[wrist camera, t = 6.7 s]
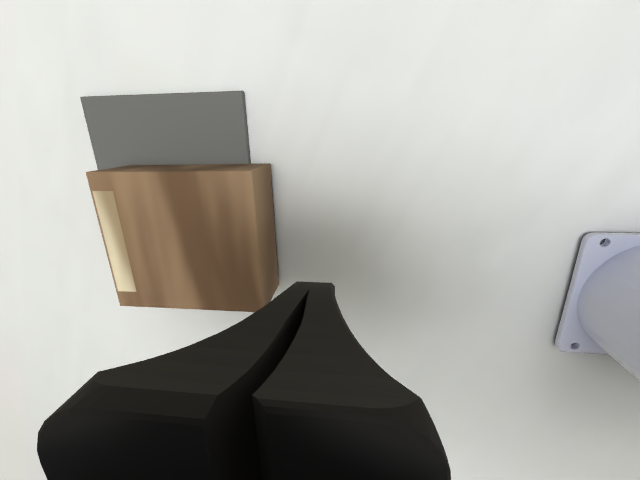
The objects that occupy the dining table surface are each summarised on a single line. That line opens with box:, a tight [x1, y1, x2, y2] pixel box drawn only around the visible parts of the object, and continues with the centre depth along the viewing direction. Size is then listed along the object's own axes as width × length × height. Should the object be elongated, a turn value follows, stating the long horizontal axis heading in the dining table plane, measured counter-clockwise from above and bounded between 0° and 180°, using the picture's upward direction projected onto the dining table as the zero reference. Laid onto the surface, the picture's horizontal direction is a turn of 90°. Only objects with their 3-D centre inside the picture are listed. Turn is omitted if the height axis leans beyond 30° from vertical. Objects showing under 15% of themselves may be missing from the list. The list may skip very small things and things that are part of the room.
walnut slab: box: [86, 164, 279, 312], centre depth 19 cm, size 4×8×9 cm
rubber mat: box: [80, 91, 251, 170], centre depth 21 cm, size 10×12×1 cm
